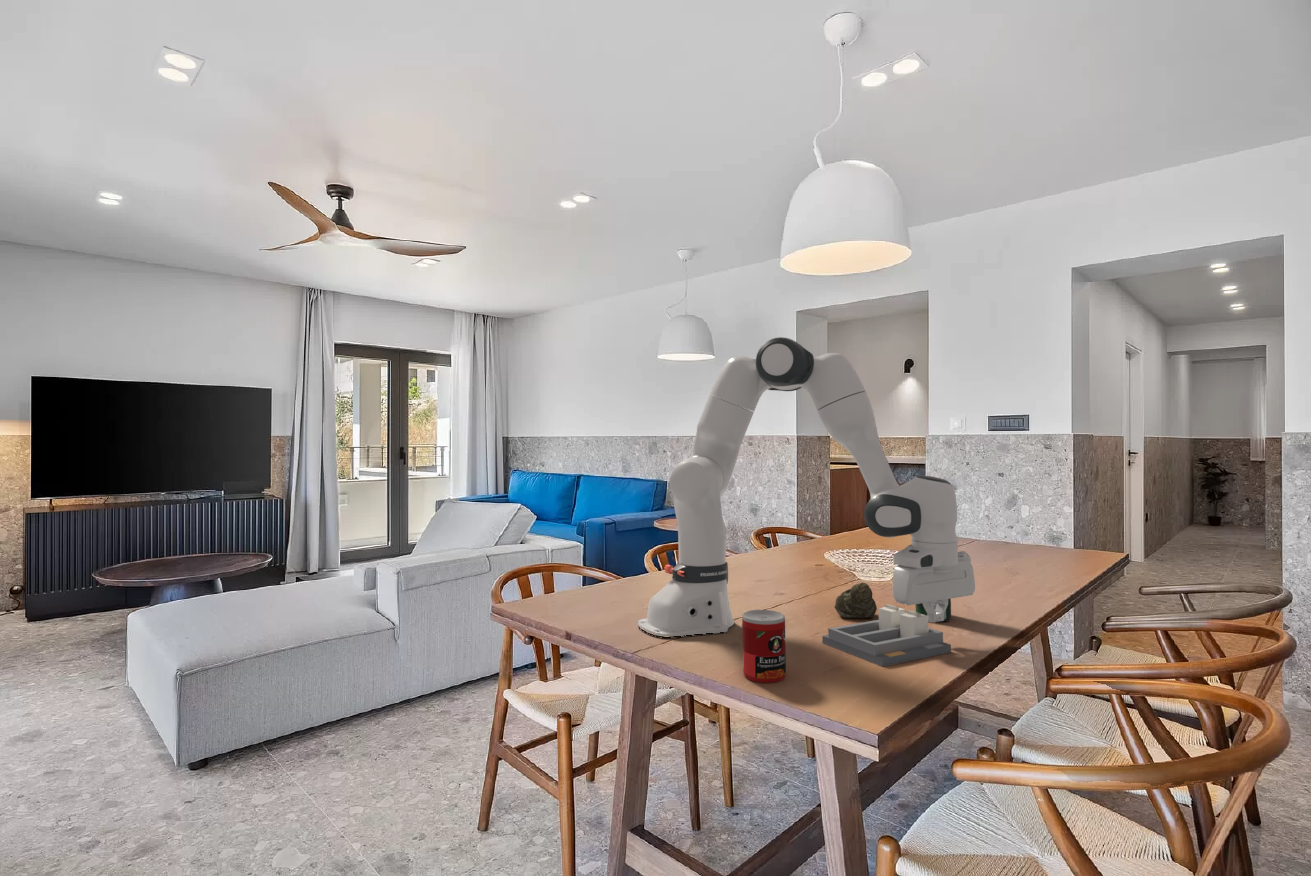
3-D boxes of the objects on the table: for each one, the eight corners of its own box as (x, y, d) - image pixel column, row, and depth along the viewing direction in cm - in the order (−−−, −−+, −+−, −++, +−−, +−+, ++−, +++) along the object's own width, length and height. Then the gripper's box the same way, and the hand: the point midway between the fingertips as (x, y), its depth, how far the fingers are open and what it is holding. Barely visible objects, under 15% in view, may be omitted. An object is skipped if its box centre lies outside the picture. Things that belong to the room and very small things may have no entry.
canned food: (758, 686, 116) (757, 622, 116) (734, 672, 124) (733, 612, 124) (795, 679, 119) (794, 617, 119) (770, 666, 127) (769, 607, 127)
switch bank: (882, 666, 125) (882, 647, 125) (822, 642, 141) (822, 626, 141) (951, 652, 133) (950, 634, 133) (887, 631, 148) (886, 615, 148)
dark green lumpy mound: (833, 597, 155) (878, 598, 153) (831, 562, 165) (874, 562, 163) (834, 631, 161) (878, 632, 159) (832, 595, 171) (874, 596, 168)
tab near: (914, 643, 134) (913, 615, 134) (900, 638, 137) (899, 611, 137) (928, 640, 136) (928, 612, 136) (914, 636, 139) (914, 609, 139)
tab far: (891, 636, 139) (891, 608, 139) (878, 631, 142) (878, 605, 142) (905, 633, 141) (905, 606, 141) (893, 629, 144) (892, 603, 144)
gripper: (957, 548, 147) (958, 611, 147) (886, 556, 138) (888, 624, 138) (982, 552, 141) (983, 618, 141) (910, 561, 132) (912, 631, 132)
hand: (935, 621), depth 139 cm, fingers closed
